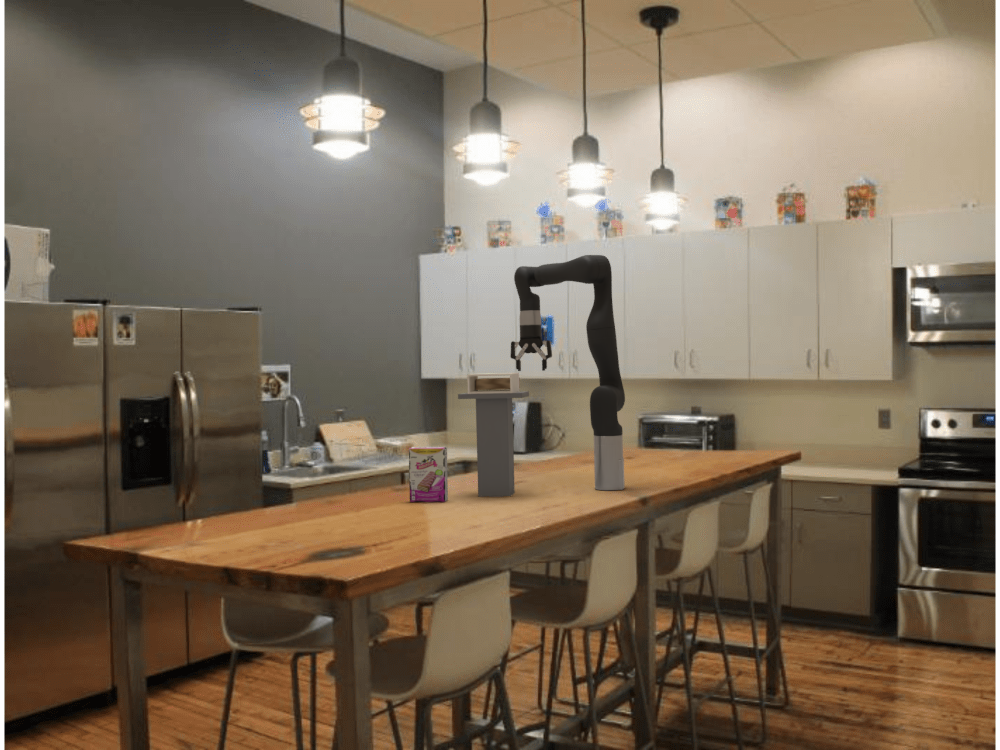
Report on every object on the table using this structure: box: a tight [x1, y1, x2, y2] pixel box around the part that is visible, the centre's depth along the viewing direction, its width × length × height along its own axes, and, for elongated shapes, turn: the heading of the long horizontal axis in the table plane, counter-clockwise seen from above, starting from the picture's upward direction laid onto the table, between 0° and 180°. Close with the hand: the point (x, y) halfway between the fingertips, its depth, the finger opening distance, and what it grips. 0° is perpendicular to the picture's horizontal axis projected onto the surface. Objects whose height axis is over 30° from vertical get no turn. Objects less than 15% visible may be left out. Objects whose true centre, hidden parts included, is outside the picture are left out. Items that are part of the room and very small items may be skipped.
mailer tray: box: [476, 377, 521, 391], centre depth 320 cm, size 12×22×3 cm, turn 169°
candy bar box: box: [408, 446, 449, 503], centre depth 298 cm, size 11×5×16 cm, turn 84°
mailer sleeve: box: [466, 372, 520, 394], centre depth 308 cm, size 14×12×6 cm
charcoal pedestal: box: [457, 390, 530, 498], centre depth 308 cm, size 20×13×32 cm, turn 79°
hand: (531, 370), depth 342 cm, fingers open, 8 cm apart
